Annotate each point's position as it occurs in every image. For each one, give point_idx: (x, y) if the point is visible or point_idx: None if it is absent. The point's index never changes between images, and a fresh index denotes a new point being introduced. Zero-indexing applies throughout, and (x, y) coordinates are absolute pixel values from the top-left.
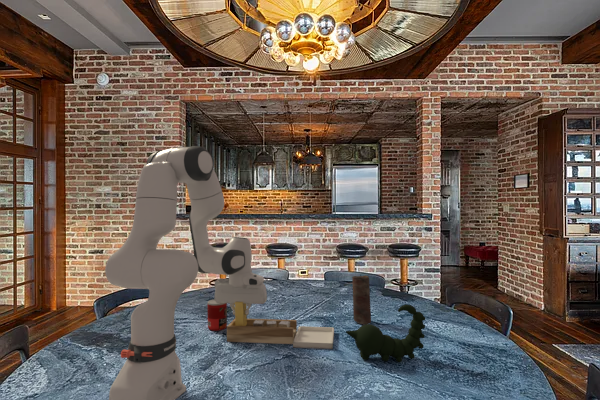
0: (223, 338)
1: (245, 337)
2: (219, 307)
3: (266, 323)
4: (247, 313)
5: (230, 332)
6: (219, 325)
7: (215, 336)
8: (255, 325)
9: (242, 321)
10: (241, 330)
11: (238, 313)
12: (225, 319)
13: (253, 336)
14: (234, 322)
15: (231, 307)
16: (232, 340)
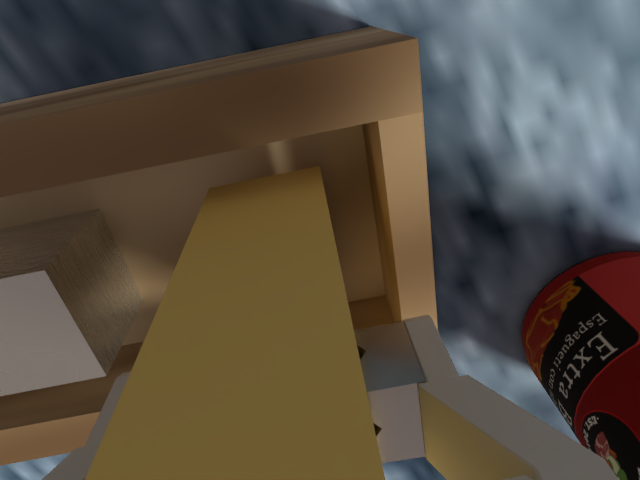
0: (449, 104)
1: (132, 81)
2: None
3: (31, 397)
4: (111, 390)
5: (338, 45)
6: (590, 296)
7: (556, 130)
8: (25, 260)
9: (197, 232)
10: (160, 84)
11: (260, 303)
12: (565, 381)
13: (18, 106)
14: (394, 281)
15: (525, 426)
16: (303, 40)
